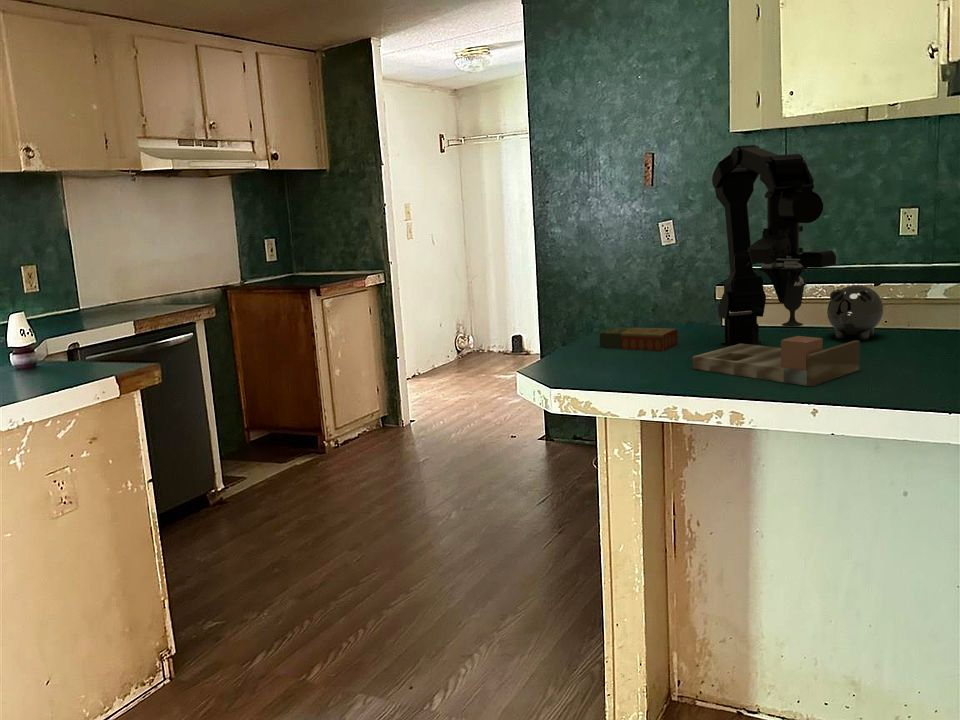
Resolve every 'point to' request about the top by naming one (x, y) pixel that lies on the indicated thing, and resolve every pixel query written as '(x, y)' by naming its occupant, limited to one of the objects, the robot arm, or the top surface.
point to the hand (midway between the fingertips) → (782, 302)
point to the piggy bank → (854, 311)
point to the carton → (639, 338)
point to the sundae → (794, 302)
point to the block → (798, 351)
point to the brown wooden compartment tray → (768, 363)
